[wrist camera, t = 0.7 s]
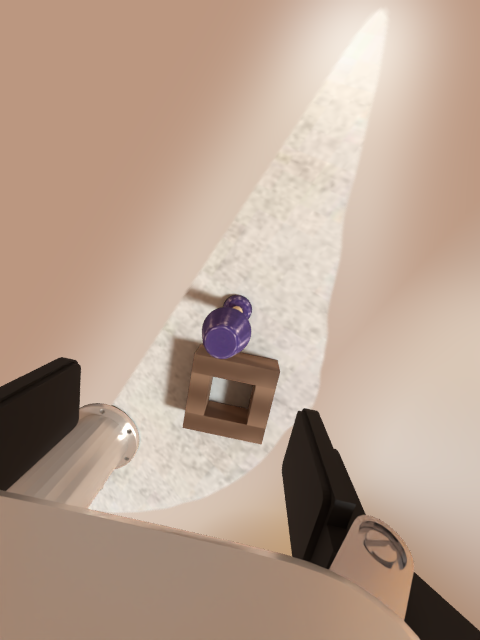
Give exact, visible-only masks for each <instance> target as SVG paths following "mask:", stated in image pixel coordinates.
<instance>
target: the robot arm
mask: <svg viewBox="0 0 480 640" xmlns="http://www.w3.org/2000/svg"><path fill="white" fill-rule="evenodd" d="M80 375H81V367H80V365H79V364H78V362H77V361H76V360H73V359H68V358H63V357H61V358H58V359H56V360H54V361H52V362H50V363H48V364H46V365H44V366H42V367H40V368H38V369H36V370H34V371H32V372H30V373H28V374H26V375H24V376H22V377H19V378H18V379H15V380H13V381H11V382H9V383H7V384H5V385H3V386H1V387H0V640H480V631H479V630H478V629H477V628H476V627H474V626H473V625H472V624H471V623H470V622H469V621H468V620H467V619H466V618H464V617H463V616H462V615H461V614H460V613H459V612H458V611H457V610H456V609H455V608H453V607H452V606H451V605H450V604H449V603H448V602H447V601H445V600H444V599H443V598H442V597H441V596H440V595H439V594H438V593H437V592H436V591H434V590H433V589H432V588H431V587H430V586H429V585H428V584H427V583H426V582H425V581H423V580H422V579H421V578H420V577H419V576H418V575H417V574H416V573H415V572H414V561H413V558H412V555H411V552H410V550H409V549H408V547H407V545H406V543H405V542H404V541H403V539H402V538H401V537H400V536H399V535H398V533H397V532H395V531H394V530H393V529H392V528H391V527H390V526H389V525H387V524H386V523H384V522H383V521H381V520H380V519H377V518H375V517H373V516H368V515H366V514H365V512H364V510H363V507H362V505H361V503H360V501H359V498H358V496H357V494H356V491H355V489H354V486H353V484H352V482H351V480H350V477H349V475H348V473H347V470H346V468H345V466H344V464H343V461H342V459H341V456H340V454H339V452H338V451H337V450H336V449H333V446H332V444H331V441H330V439H329V436H328V434H327V432H326V429H325V427H324V424H323V422H322V419H321V417H320V415H319V412H318V411H315V410H310V409H305V408H304V409H303V410H302V411H298V413H297V416H296V419H295V423H294V426H293V429H292V433H291V437H290V440H289V443H288V447H287V450H286V454H285V457H284V461H283V465H282V476H283V484H284V492H285V501H286V508H287V517H288V525H289V533H290V542H291V549H292V557H291V556H288V555H285V554H281V553H277V552H273V551H269V550H265V549H261V548H257V547H253V546H249V545H244V544H241V543H237V542H233V541H229V540H224V539H220V538H215V537H211V536H207V535H202V534H198V533H193V532H189V531H184V530H180V529H176V528H171V527H167V526H163V525H158V524H154V523H149V522H145V521H140V520H136V519H131V518H127V517H122V516H118V515H113V514H109V513H104V512H100V511H95V510H91V509H88V507H89V506H90V504H91V503H92V501H93V500H94V498H95V497H96V495H97V494H98V492H99V491H100V490H101V489H102V488H103V486H104V484H105V482H106V481H107V479H108V478H109V476H110V475H111V473H112V472H113V470H114V469H117V468H120V467H122V466H125V465H126V464H127V463H129V462H130V461H131V459H132V458H133V457H134V455H135V454H136V452H137V449H138V447H139V434H138V431H137V428H136V426H135V424H134V423H133V421H132V420H131V419H130V418H129V417H128V416H127V415H126V414H125V413H124V412H122V411H121V410H119V409H118V408H115V407H113V406H110V405H107V404H100V403H96V404H88V405H85V406H83V407H81V408H79V404H80Z"/></svg>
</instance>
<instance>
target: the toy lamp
mask: <svg viewBox="0 0 480 640" xmlns="http://www.w3.org/2000/svg"><path fill="white" fill-rule="evenodd" d="M251 313H252V306H251V304H250V302H249V300H248V299H247V298H245V297H243V296H240V295H234V296H231V297H229V298H228V299H227V300H226V301H225V303H224V305H223V307H222V308H218V309H215V310H214V311H212V312H211V313H210V314H209V315H208V316H207V317H206V319H205V320H204V323H203V327H202V338H203V345H204V348H205V349H206V351H207V352H208V353H209V354H210V355H211V356H213V357H215V358H218V359H227V358H230V357H232V356H234V355H236V354H237V353H239V352H240V351H242V350H243V349H244V348H245V347H246V346H247V344H248V342H249V340H250V337H251V326H250V323H249V321H248V319H249V317H250V315H251Z"/></svg>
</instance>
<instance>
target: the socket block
mask: <svg viewBox="0 0 480 640" xmlns="http://www.w3.org/2000/svg"><path fill="white" fill-rule="evenodd" d="M279 374H280V369H279V365H278V360H274V359H269V358H264V357H259V356H254V355H250V354H245V353H240V352H239V353H237V354H236V355H234V356H232V357H230V358H227V359H218V358H215V357H213V356H211V355H210V354H209V353H208V352H207V351H206V349H205V348H204V345H200V346H199V348H198V349H197V351H196V352H195V354H194V360H193V366H192V372H191V378H190V385H189V391H188V397H187V404H186V410H185V416H184V422H183V428H187V429H191V430H196V431H201V432H205V433H210V434H215V435H220V436H224V437H229V438H234V439H238V440H243V441H248V442H253V443H257V444H262V440H263V436H264V432H265V428H266V424H267V421H268V417H269V413H270V409H271V405H272V401H273V397H274V393H275V389H276V386H277V382H278V378H279ZM213 377H218V378H223V379H227V380H232V381H237V382H242V383H247V384H251V385H253V388H252V393H251V397H250V401H249V406H248V409H246V408H242V407H237V406H232V405H227V404H223V403H218V402H213V401H209V396H210V390H211V385H212V379H213Z"/></svg>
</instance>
